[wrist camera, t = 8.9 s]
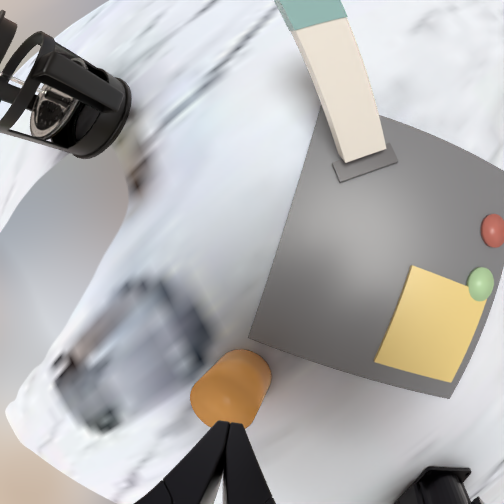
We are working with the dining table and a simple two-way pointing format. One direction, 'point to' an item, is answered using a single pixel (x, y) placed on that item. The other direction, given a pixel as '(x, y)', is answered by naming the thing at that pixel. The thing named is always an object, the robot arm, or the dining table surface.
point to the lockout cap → (232, 389)
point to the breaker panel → (387, 260)
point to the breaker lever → (336, 74)
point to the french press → (61, 95)
